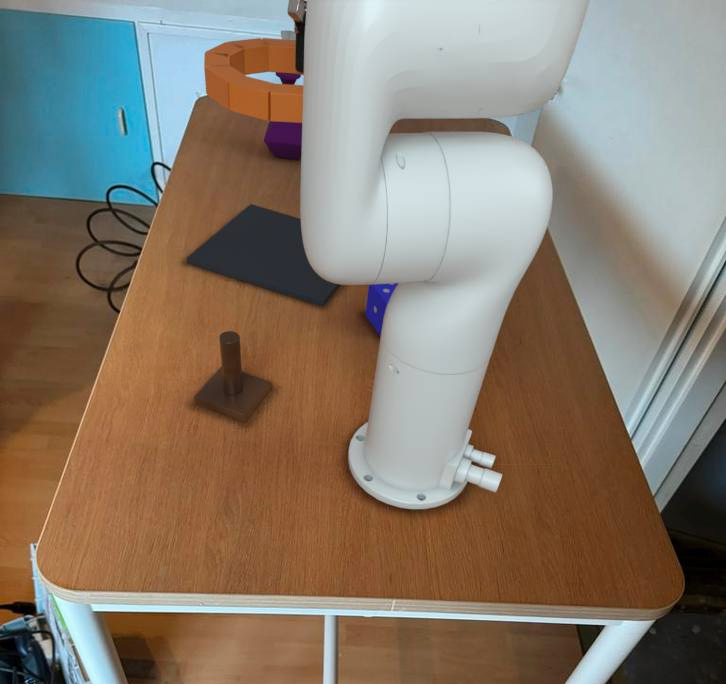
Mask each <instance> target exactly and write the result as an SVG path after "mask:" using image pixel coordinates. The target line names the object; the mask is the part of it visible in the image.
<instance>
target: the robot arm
mask: <svg viewBox="0 0 726 684" xmlns="http://www.w3.org/2000/svg"><path fill="white" fill-rule="evenodd" d="M590 1H591V0H288V5H287V15H288V16H289V17H290V18H291V19H292V21H293V23H294V25H293V26H294V27H293V32H295V33H296V57H295V68H296V70H297V71H298V72H302V73H304V75H303V80H302V82H303V83H302V85H303V118H302V151H301V158H300V188H299V189H300V191H299V192H300V194H299V196H300V199H299V213H300V215H299V217H300V219H301V232H302V239H303V245H304V249H305V253H306V256H307V259H308V261H309V263H310V265H311V267H312V268H313V270H314V271H315V272H316V273H317V274H318V275H319V276H320V277H322V278H323V279H325V280H327V281H329V282H332V283H335V284H340V286H369V285H375V284H390V283H398V284H397V286H396V288H395V289H394V291H393V293H392V295H391V297H390V299H389V302H388V304H387V307H386V310H385V314H384V318H383V325H382V331H381V336H380V338H379V346H378V352H377V358H376V365H375V373H374V380H373V384H372V385H373V386H372V392H371V399H370V400H371V401H370V407H369V412H368V419H367V420H368V421H366V422H365V423H364V424H363V425H361V426H360V427H359V428H358V429H357V430H356V431H355V432H354V433H353V435H352V437H351V438H350V442H349V447H348V453H347V454H348V455H347V462H348V463H347V464H348V468H349V471H350V473H351V475H352V477H353V479H354V480H355V481H356V483H357V484H358V486H359V487H360V488H361V489H362V490H364V492H366V494H368V495H370V496H372V497H373V498H374V499H376V500H378V501H380V502H382V503H384V504H386V505H390V506H392V507H396V508H400V509H407V510H428V509H433V508H438V507H441V506H443V505H446V504H448V503H449V502H451V501H453V500H454V499H456V498H457V497H458V496H459V495H460V494H461V493H462V492H463V491H464V490H465V487H466V486H467V484H468V483H470V484H473V485H475V486H478V488H481V489H484V490H486V491H489V492H493V493H494V494H497V491H498V489H499V486H500V483H501V481H502V477H503V473H500V472H497V471H495V470H492V468H493V465H494V462H495V460H496V456H497V455H495V454H491V453H489V452H485V451H481V450H478V449H475V448H474V447H475V446H474V445H472V444H470V440H471V437H472V434H473V431H472V429H469V428H470V423H471V421H472V418H473V414H474V412H475V407H476V405H477V402H478V399H479V395H480V392H481V388H482V386H483V382H484V379H485V375H486V373H487V370H488V366H489V363H490V359H491V357H492V354H493V352H494V349H495V345H496V342H497V339H498V335H499V333H500V330H501V326H502V324H503V321H504V318H505V315H506V313H507V310H508V308H509V306H510V303H511V300H512V299H513V297H514V294H515V292H516V290H517V288H518V286H519V284H520V283H521V281H522V279H523V277H524V275H525V273H526V272H527V270H528V268H529V267H530V265H531V263H532V262H533V260H534V258H535V256H536V254H537V252H538V250H539V249H540V246H541V244H542V241H543V239H544V237H545V235H546V231H547V229H548V226H549V222H550V219H551V215H552V210H553V209H552V208H553V196H554V195H553V194H554V193H553V191H554V190H553V182H552V177H551V173H550V170H549V168H548V165H547V164H546V161H545V160H544V158H543V157H542V155H541V154H540V153H539V152H538V150H537V149H535V148H534V147H533V146H532V145H530V144H529V143H528V142H526V141H524V140H522V139H520V138H517V137H514V136H511V135H508V134H503V133H498V132H491V131H490V132H489V131H423V132H391V129H392V127H393V126H394V124H395V123H396V122H398V121H400V120H406V119H407V120H408V119H411V120H412V119H417V120H419V119H424V120H425V119H429V120H430V119H431V120H432V119H433V120H434V119H444V120H445V119H447V120H448V119H498V118H499V119H500V118H501V119H502V118H511V117H518V116H525V115H528V114H531V113H534V112H536V111H538V110H540V109H542V108H543V107H544V106H545V105H547V104H548V103H549V102H550V101H551V100H552V99H553V98H554V97H555V95H556V93H557V92H558V90H559V88H560V87H561V85H562V83H563V80H564V79H565V76H566V74H567V72H568V70H569V67H570V64H571V62H572V58H573V56H574V53H575V51H576V47H577V43H578V41H579V39H580V35H581V31H582V29H583V25H584V21H585V17H586V14H587V11H588V7H589V4H590ZM472 463H475V464H479V466H477V465H474V464H472ZM481 466H483V467H485V468H483V467H481Z"/></svg>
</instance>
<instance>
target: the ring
mask: <svg viewBox="0 0 726 684" xmlns="http://www.w3.org/2000/svg"><path fill="white" fill-rule="evenodd" d="M295 57H296V40H284V39H282V38H271V37H270V38H269V37H268V38H267V37H262V38H261V37H257V38H247V39H239V40H238V39H237V40H230V41H225V42H223V43H220V44H219V45H218V44H217V46H214V47H212V48H210V49H208V50H206V51H204V61H203V62H204V63H203V70H204V83H205V84H204V85H205V94H206V96H207V97H209V98H210V99H212V100H213V101H215V102H216V103H217V104H219V105H220V106H221V107H223V108H225V109H226V110H228V111H229V112H233V113H236V114H241V115H244V116H247V117H252V118H256V119H259V120H263V121H266V122H270V120H271V121H274V122H294V123H302V118H303V84H294V85H289V84H282V83H275V82H270V81H266V80H264V79H259V78H255V77H252V76H248V75H256V74H263V73H275V72H278V73H294V74H300V75H301V76H304V73H302V72H298V71H297V70H296V68H295Z"/></svg>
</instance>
